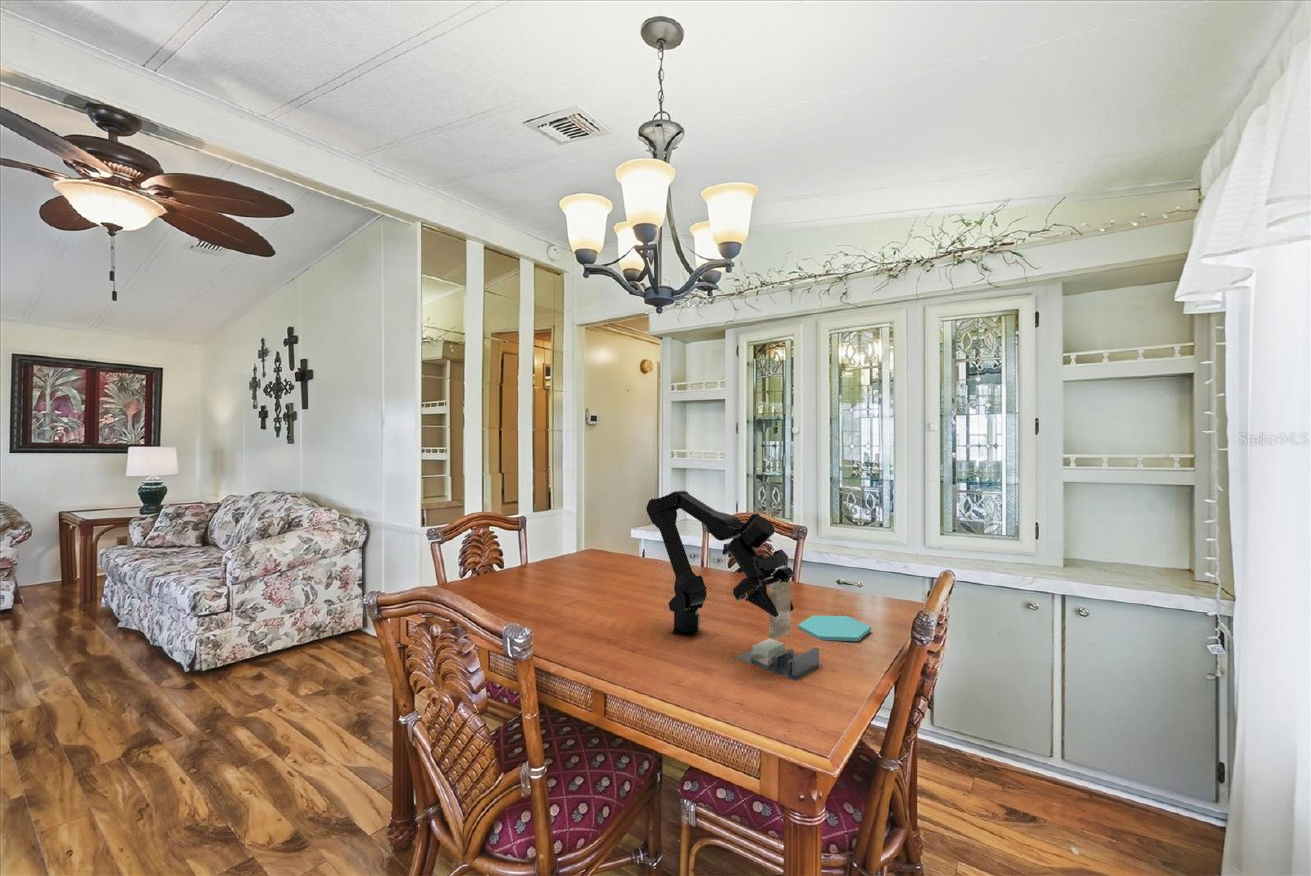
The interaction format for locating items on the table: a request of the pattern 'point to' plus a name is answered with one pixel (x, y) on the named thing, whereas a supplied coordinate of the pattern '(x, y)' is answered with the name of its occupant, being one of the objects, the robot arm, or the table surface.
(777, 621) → the birch block
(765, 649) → the offcut upper
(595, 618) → the table surface
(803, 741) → the table surface
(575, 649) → the table surface
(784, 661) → the offcut rack
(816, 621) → the plaque
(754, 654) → the offcut lower
